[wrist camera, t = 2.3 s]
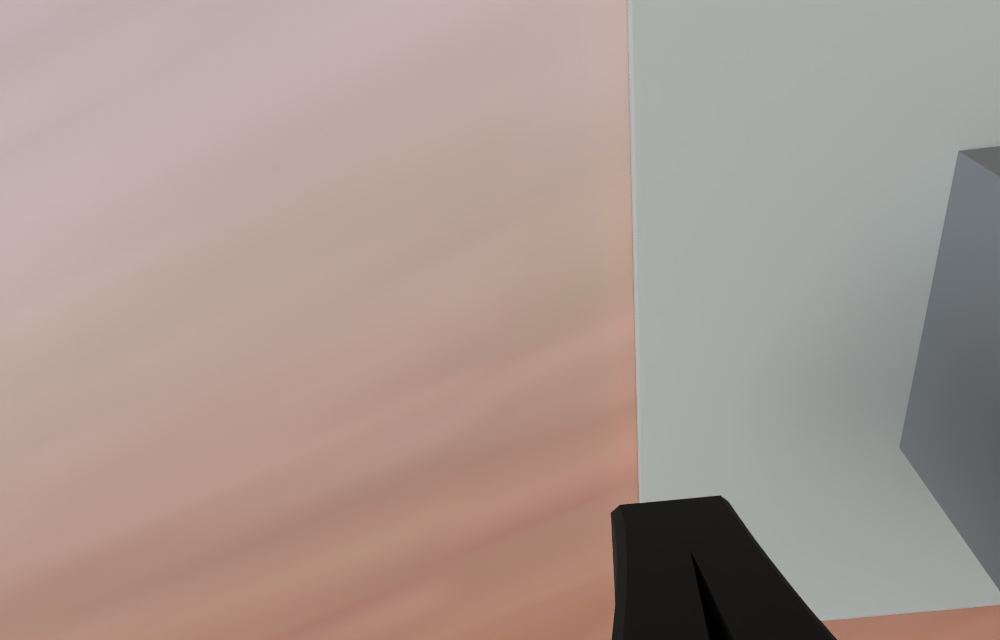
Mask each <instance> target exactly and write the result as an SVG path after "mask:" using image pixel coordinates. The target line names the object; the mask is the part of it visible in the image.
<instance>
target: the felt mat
mask: <svg viewBox="0 0 1000 640" xmlns="http://www.w3.org/2000/svg"><path fill="white" fill-rule="evenodd" d="M628 38H629V81H630V124H631V168H632V211H633V255H634V298H635V342H636V385H637V428H638V472H639V503H645V502H656V501H666V500H677V499H687V498H697V497H708V496H718V495H721V496H722V497H723V498H725V499H726V500H727V501H729V503H730V504H731V506H732V507H733V509H734V510H735V512H736V513H737V514H738V516H739V517H740V519H741V520H742V521H743V523H744V524H745V526H746V527H747V528H748V530H749V531H750V533H751V534H752V535H753V537H754V538H755V539H756V541H757V542H758V544H759V545H760V546H761V547H762V549H763V550H764V551H765V553H766V554H767V555H768V557H769V558H770V559H771V561H772V562H773V563H774V564H775V566H776V567H777V568H778V570H779V571H780V572H781V573H782V575H783V576H784V577H785V578H786V580H787V581H788V582H789V583H790V585H791V586H792V587H793V588H794V590H795V591H796V592H797V593H798V595H799V596H800V597H801V598H802V599H803V601H804V602H805V603H806V604H807V606H808V607H809V608H810V609H811V610H812V612H813V613H814V614H815V615H816V616H817V617H818V618H819V620H820V621H825V620H836V619H847V618H858V617H870V616H881V615H892V614H903V613H914V612H925V611H936V610H947V609H958V608H969V607H980V606H991V605H1000V591H999V589H998V588H997V587H996V585H995V584H994V582H993V581H992V579H991V578H990V577H989V575H988V574H987V572H986V571H985V569H984V568H983V567H982V565H981V564H980V562H979V561H978V559H977V558H976V557H975V555H974V554H973V552H972V551H971V549H970V548H969V547H968V545H967V544H966V542H965V541H964V539H963V538H962V537H961V535H960V534H959V532H958V531H957V529H956V528H955V527H954V525H953V524H952V522H951V521H950V519H949V518H948V517H947V515H946V514H945V512H944V511H943V509H942V508H941V507H940V505H939V504H938V502H937V501H936V499H935V498H934V497H933V495H932V494H931V492H930V491H929V489H928V488H927V487H926V485H925V484H924V482H923V481H922V479H921V478H920V477H919V475H918V474H917V472H916V471H915V470H914V468H913V467H912V465H911V464H910V462H909V461H908V460H907V458H906V457H905V455H904V454H903V452H902V451H901V450H900V448H899V446H900V441H901V436H902V431H903V426H904V421H905V416H906V411H907V406H908V401H909V396H910V391H911V386H912V381H913V376H914V371H915V366H916V361H917V356H918V351H919V346H920V341H921V336H922V331H923V326H924V321H925V316H926V311H927V306H928V301H929V296H930V291H931V286H932V281H933V275H934V270H935V265H936V260H937V255H938V250H939V245H940V240H941V235H942V230H943V225H944V220H945V215H946V210H947V205H948V200H949V195H950V190H951V185H952V180H953V175H954V170H955V165H956V160H957V155H958V151H960V150H969V149H979V148H988V147H997V146H1000V0H628Z"/></svg>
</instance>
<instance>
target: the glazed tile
mask: <svg viewBox="0 0 1000 640" xmlns="http://www.w3.org/2000/svg"><path fill="white" fill-rule="evenodd" d="M899 448H900V450H901V451H902V452H903V454H904V455H905V457H906V458H907V460H908V461H909V462H910V464H911V465H912V467H913V468H914V470H915V471H916V472H917V474H918V475H919V477H920V478H921V479H922V481H923V482H924V484H925V485H926V487H927V488H928V489H929V491H930V492H931V494H932V495H933V497H934V498H935V499H936V501H937V502H938V504H939V505H940V507H941V508H942V509H943V511H944V512H945V514H946V515H947V517H948V518H949V519H950V521H951V522H952V524H953V525H954V527H955V528H956V529H957V531H958V532H959V534H960V535H961V537H962V538H963V539H964V541H965V542H966V544H967V545H968V547H969V548H970V549H971V551H972V552H973V554H974V555H975V557H976V558H977V559H978V561H979V562H980V564H981V565H982V567H983V568H984V569H985V571H986V572H987V574H988V575H989V577H990V578H991V579H992V581H993V582H994V584H995V585H996V587H997V588H998V589H999V591H1000V146H997V147H988V148H979V149H969V150H960V151H958V155H957V160H956V165H955V170H954V175H953V180H952V185H951V190H950V195H949V200H948V205H947V210H946V215H945V220H944V225H943V230H942V235H941V240H940V245H939V250H938V255H937V260H936V265H935V270H934V275H933V281H932V286H931V291H930V296H929V301H928V306H927V311H926V316H925V321H924V326H923V331H922V336H921V341H920V346H919V351H918V356H917V361H916V366H915V371H914V376H913V381H912V386H911V391H910V396H909V401H908V406H907V411H906V416H905V421H904V426H903V431H902V436H901V441H900V446H899Z"/></svg>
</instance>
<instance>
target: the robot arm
mask: <svg viewBox="0 0 1000 640" xmlns="http://www.w3.org/2000/svg"><path fill="white" fill-rule="evenodd" d="M611 524H612V544H613V564H614V585H615V614H614V623H613V633H612V640H837V639H836V638H835V637H834V636H833V635H832V634H831V632H830V631H829V630H828V629H827V628H826V627H825V625H824V624H823V623H822V622H821V621H820V620H819V618H818V617H817V616H816V615H815V614H814V613H813V612H812V610H811V609H810V608H809V607H808V606H807V604H806V603H805V602H804V601H803V599H802V598H801V597H800V596H799V595H798V593H797V592H796V591H795V590H794V588H793V587H792V586H791V585H790V583H789V582H788V581H787V580H786V578H785V577H784V576H783V575H782V573H781V572H780V571H779V570H778V568H777V567H776V566H775V564H774V563H773V562H772V561H771V559H770V558H769V557H768V555H767V554H766V553H765V551H764V550H763V549H762V547H761V546H760V545H759V544H758V542H757V541H756V539H755V538H754V537H753V535H752V534H751V533H750V531H749V530H748V528H747V527H746V526H745V524H744V523H743V521H742V520H741V519H740V517H739V516H738V514H737V513H736V512H735V510H734V509H733V507H732V506H731V504H730V503H729V501H727V500H726V499H725V498H723V497H722V496H721V495H718V496H708V497H697V498H687V499H677V500H666V501H656V502H645V503H635V504H625V505H619V506H618V507H617V508H616V509H615V510H614V511H612V512H611Z"/></svg>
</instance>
